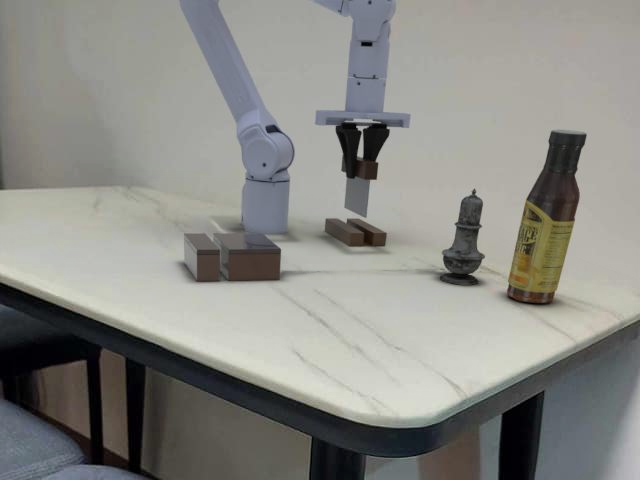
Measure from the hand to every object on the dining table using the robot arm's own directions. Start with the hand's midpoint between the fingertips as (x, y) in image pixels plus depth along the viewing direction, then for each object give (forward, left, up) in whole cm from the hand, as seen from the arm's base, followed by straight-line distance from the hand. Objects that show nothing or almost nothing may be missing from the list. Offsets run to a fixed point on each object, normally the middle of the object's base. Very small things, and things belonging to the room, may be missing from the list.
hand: (358, 178), depth 114 cm
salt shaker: (+22, +8, -10) cm, 26 cm away
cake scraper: (0, 0, -5) cm, 5 cm away
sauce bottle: (+32, +13, -10) cm, 36 cm away
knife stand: (-1, +1, -10) cm, 10 cm away
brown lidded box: (+15, -21, -10) cm, 28 cm away
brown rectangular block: (+15, -28, -10) cm, 33 cm away
